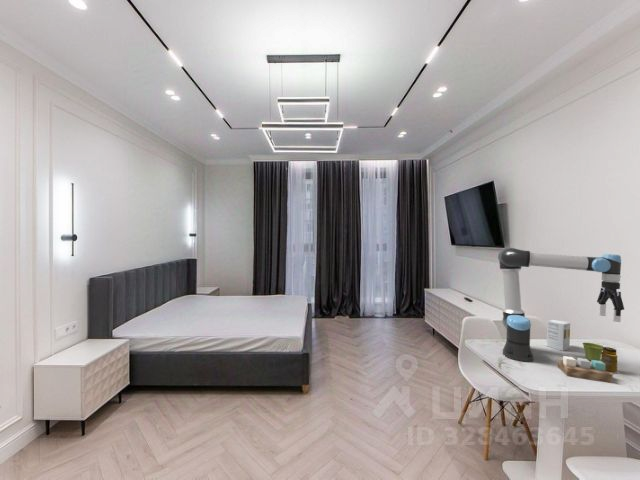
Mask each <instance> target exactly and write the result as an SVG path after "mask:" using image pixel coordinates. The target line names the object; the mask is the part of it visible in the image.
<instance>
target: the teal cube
mask: <svg viewBox="0 0 640 480" xmlns="http://www.w3.org/2000/svg"><path fill="white" fill-rule="evenodd" d="M590 364H591V367H592V368H593V369H594V370H599V371H605V363H603V362H602V361H601V360H600V361H597V360H590Z"/></svg>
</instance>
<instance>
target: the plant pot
mask: <svg viewBox="0 0 640 480" xmlns="http://www.w3.org/2000/svg"><path fill="white" fill-rule="evenodd" d="M581 344H582V345H583V348H584V354H585V355H584V357H585V359H587V360H588V361H591V360H597V361H601V358H602V352H603V351H602V350H603V347H604V346H603V345H600V344H598V343H594V342H582V343H581Z"/></svg>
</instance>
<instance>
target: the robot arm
mask: <svg viewBox="0 0 640 480" xmlns="http://www.w3.org/2000/svg"><path fill="white" fill-rule="evenodd" d="M497 259H498V261H499V270H501V271H502V277H503V278H502V279H503V281H502V282H503V292H504V293H503V295H504V309H502V325H503V327H504V328H505V330H506V340H505V343H504V346H503V348H502V355H503V356H504V355H505V358H508V359H511V360H514V361H520V362H533V361H534V354H533V352H532V351H533V350H532V348H531V326H532V324H531V321H530V319H529V318H528V317H526V315H525V313H526V312H525V311H524V310H523V309H522V301H521V297H522V296H521V286H520V285H521V283H520V271H521V270H522V268H523V267H525V268H529V267H541V268H542V267H544V268H555V269H556V268H557V269H566V270H575V271H587V272H597V273H601V280H602V281H601V287H600V291H599V294H598V297H597V300H596V302H597V303H598V304H599V305H598V307H599V309H598V316H601V317H606V316H607V315H606V313H607V310H606V309H607V302H608V300H610V301H611V303H612V305H613V319H612V320H613V321H612V322H614V323H615V322H617V323H621V320H622V319H621V316H622V315H621V314H622V311H624V310H625V306H624V302H623V300H622V299H623V298H622V292H621V291H618V290H620V289H621V283H620V282H621V277H622V276H621V271H622V270H621V268H622V256H621V255H619V254H608V253H607V254H605V253H604V254H602V256H601V257H598V256H597V257H596V256H578V255H577V256H575V255H563V254H553V253H538V252H532V251H530V250H523V249H518V248H514V247H504V248H503V249H501V250H500V251H499V252H498V254H497Z"/></svg>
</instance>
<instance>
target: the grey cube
mask: <svg viewBox="0 0 640 480" xmlns="http://www.w3.org/2000/svg"><path fill="white" fill-rule="evenodd" d="M576 362H577V366H578V367H580V368H585V369H590V364H591V360H587V359H586V358H580V357H577V358H576Z"/></svg>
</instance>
